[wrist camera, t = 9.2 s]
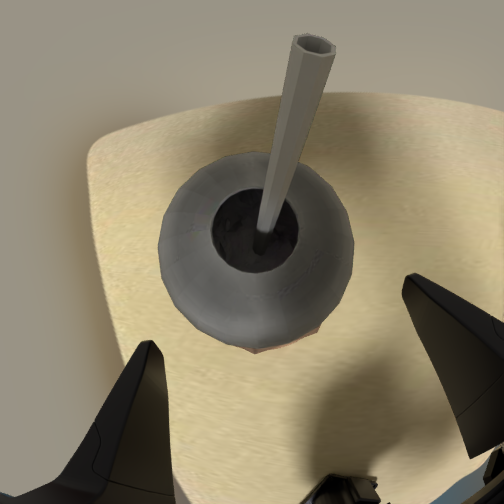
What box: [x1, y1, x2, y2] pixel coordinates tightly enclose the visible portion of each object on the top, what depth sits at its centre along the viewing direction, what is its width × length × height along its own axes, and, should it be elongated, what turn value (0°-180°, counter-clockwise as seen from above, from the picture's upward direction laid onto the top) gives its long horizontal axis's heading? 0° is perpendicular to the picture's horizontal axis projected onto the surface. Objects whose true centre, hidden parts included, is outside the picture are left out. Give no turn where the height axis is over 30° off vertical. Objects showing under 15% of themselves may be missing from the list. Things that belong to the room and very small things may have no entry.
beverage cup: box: [158, 34, 354, 349], centre depth 12 cm, size 7×7×20 cm
